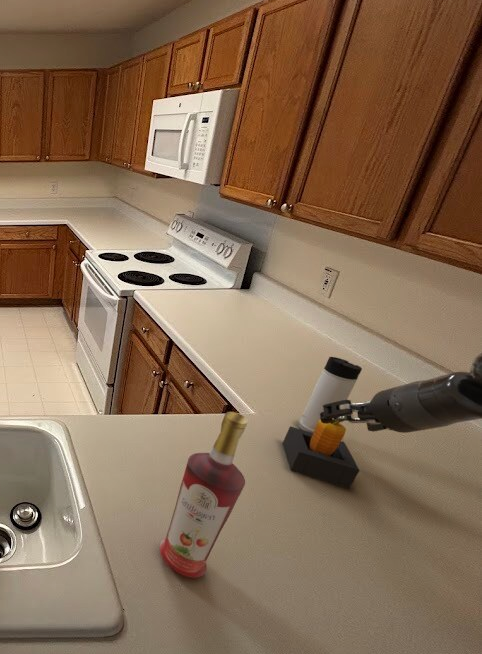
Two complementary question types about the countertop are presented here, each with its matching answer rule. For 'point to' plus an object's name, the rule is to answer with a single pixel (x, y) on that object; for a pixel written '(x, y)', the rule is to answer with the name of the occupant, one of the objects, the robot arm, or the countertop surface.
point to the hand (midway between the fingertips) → (345, 422)
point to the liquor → (204, 501)
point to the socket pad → (319, 459)
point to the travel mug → (329, 390)
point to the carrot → (327, 437)
